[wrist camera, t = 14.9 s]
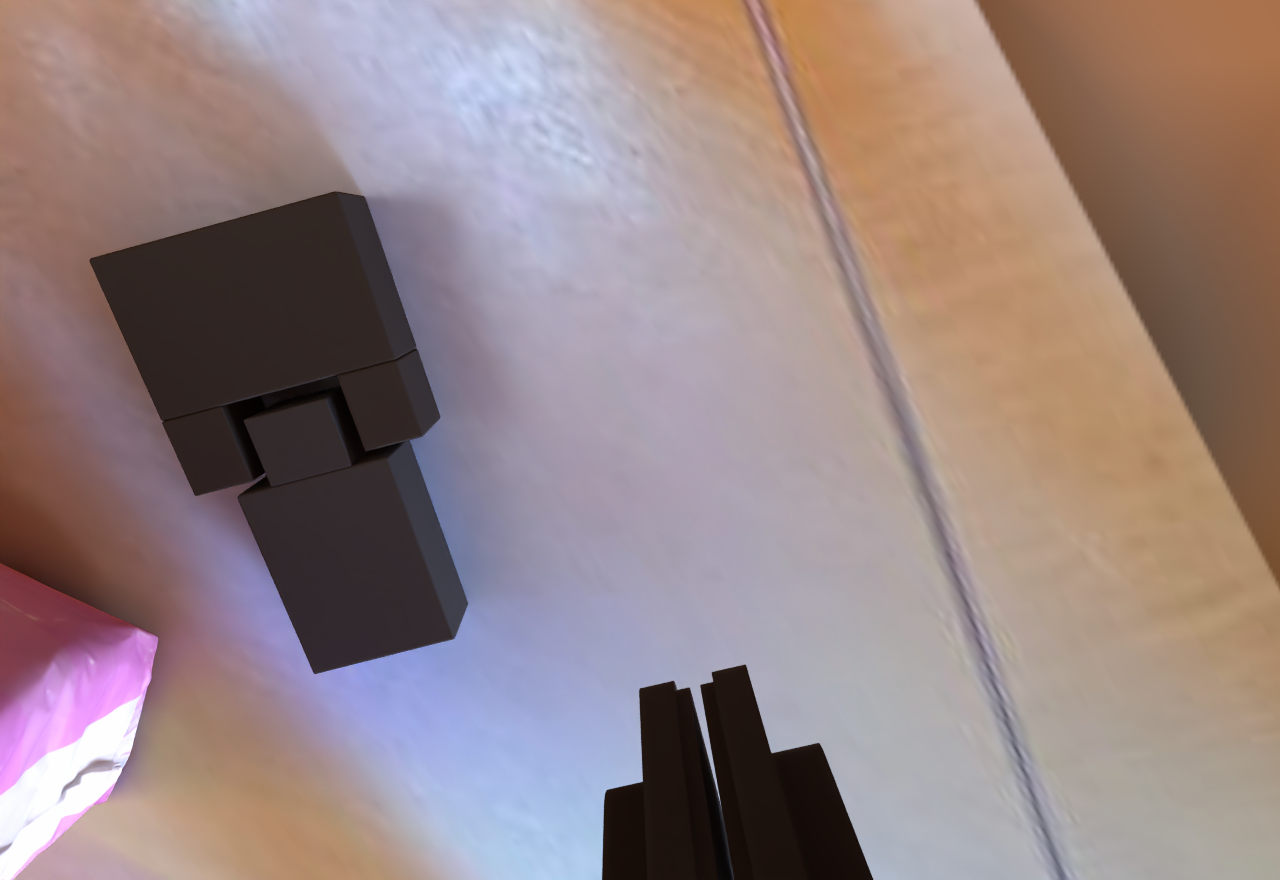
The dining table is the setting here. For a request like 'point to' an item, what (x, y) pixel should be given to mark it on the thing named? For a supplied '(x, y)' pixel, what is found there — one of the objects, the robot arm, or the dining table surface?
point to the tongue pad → (348, 536)
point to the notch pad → (267, 329)
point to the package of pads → (61, 711)
